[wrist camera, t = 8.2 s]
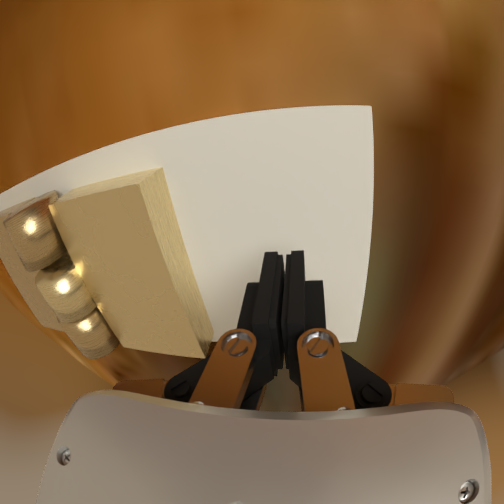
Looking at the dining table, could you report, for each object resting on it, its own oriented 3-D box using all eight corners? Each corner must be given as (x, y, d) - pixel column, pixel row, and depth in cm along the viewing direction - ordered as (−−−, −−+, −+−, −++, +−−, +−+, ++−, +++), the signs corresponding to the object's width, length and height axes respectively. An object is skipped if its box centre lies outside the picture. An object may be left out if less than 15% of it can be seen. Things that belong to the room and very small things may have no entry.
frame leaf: (1, 210, 16) (-30, 235, 13) (68, 185, 14) (20, 217, 10) (53, 310, 23) (32, 339, 19) (131, 322, 20) (108, 363, 17)
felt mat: (-11, 200, 17) (-14, 202, 16) (369, 105, 10) (371, 106, 10) (48, 315, 25) (46, 317, 24) (355, 337, 18) (356, 341, 18)
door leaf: (38, 199, 15) (-2, 230, 11) (162, 167, 13) (113, 202, 9) (99, 320, 21) (76, 356, 18) (214, 332, 19) (197, 383, 15)
